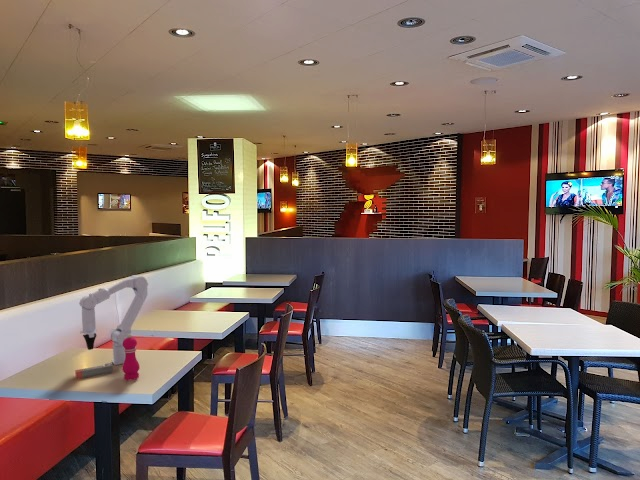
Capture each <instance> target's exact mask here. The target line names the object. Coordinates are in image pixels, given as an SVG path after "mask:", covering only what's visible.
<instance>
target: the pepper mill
mask: <svg viewBox="0 0 640 480" xmlns="http://www.w3.org/2000/svg"><path fill="white" fill-rule="evenodd" d="M127 337H128V338H126V339H124V341H123V347H124V348H125V349H124V352H125V361H124V363H123V364H122V372H123V373H124V375H123V379H124V380H125V381H134V380H136V379H138V378H139V377H140V373H139V371H140V363H139V362H138V361H139V360H138V359H137V357H136V356H137V355H136V352H137V345H138V341H137V339H136V338H135V337H132V333H131V334H128V335H127Z"/></svg>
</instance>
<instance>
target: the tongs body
mask: <svg viewBox="0 0 640 480" xmlns="http://www.w3.org/2000/svg"><path fill="white" fill-rule="evenodd" d="M112 363H113V362H112ZM112 363H111V362H109V363H108V362H107V363H105V364H104V365H103V366H102V365H101V366H102V367H96V366H95V367H96V368H91V367H90V368H91V369H85V368H84V369H85V370H80V369H79V370H80V371H76V377H75V379H76V380H82V379H86V378H92V377H97V376H102V375H108V374H112V373H113V364H112Z"/></svg>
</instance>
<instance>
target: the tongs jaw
mask: <svg viewBox="0 0 640 480" xmlns="http://www.w3.org/2000/svg"><path fill="white" fill-rule="evenodd" d="M102 366H104V365H103V364H102V365H97V366H93V367H87V368H81V369H76V370H74V374H75V378H76V371H80V370H85V369H91V368H96V367H102Z"/></svg>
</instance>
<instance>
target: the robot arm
mask: <svg viewBox="0 0 640 480" xmlns="http://www.w3.org/2000/svg"><path fill="white" fill-rule="evenodd" d="M148 287H149V282H148V280H147V279H146V277H145V276H140V275H137V274H132V275H130V276H127V277H126V278H124V279H122V280H121V281H119V282H116V283H115V284H113V285H112V286H110V287H108V288H105V287H103V288H101V287H99V288H98V289H97V291H95V292H93V293H90V292H89V293H88V295H85V296H82V298H80V301H79V303H78V304H79V306H80V307H81V322H82V323H81V324H82V330H80V331H79V333H80V334H83V335H82V337H83V338H84V340H85V344H86V347H87V350H89V351H90V350H93V349H94V346H95V340H96V338H97V336H98V335H97V333H96V332H97V327H96V325H97V324H96V322H97V321H96V311H95V307H96V306H97V305H98V304H101V303H103V302H105V301H106V300H108V299H110V297H111V295H113V294H115V293H117V292H119V291H121V290H124V289H126V288H127V289H128V288H130V289H132V290H133V293H134V294H135V296H134V297H133V300H132V301H131V304H130V306H128V309H127V311H126V313H125V315H124V316H123V319H122V320H121V322H120V324H119V325H117V327H115V328H116V329H114V330H113V331H112V333H111V334H110V339H111V341H113V342H112V352H113V353H112V356H113V357H112V358H113V359H112V360H111V362H112V363H113V364H112V365H114V366H116V365H117V366H118V365H121V364H122V365H123V364H124V361H125V352H124V349H125V348H124V347H123V341H124V339H126V338H128V337H127V335H128V334H131V335H132V326H133V325H134V323H135V321H136V319H137V317H138V315H139V313H140V311H141V309H142V307H143V305H144V303H145V301H146V299H147V297H148Z"/></svg>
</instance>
